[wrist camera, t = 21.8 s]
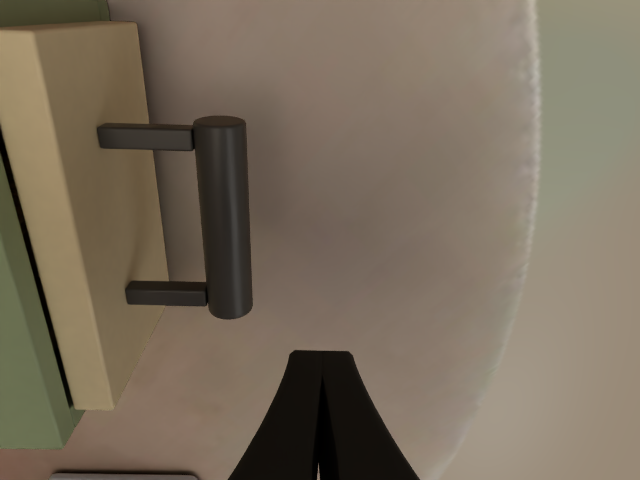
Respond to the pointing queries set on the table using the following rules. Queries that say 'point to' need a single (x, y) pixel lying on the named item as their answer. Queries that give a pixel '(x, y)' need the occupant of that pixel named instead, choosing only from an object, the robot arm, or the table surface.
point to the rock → (13, 187)
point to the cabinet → (31, 291)
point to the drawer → (112, 198)
